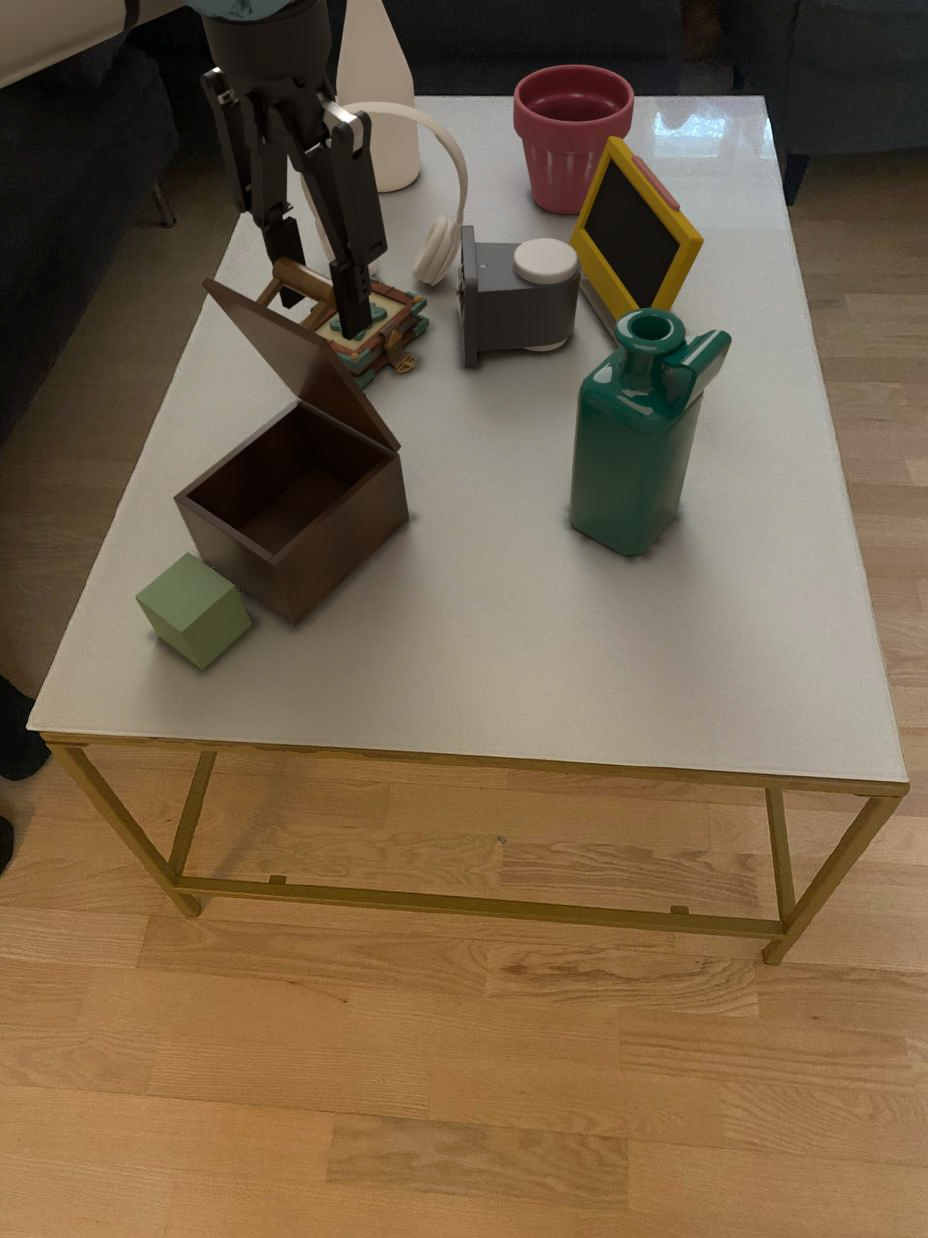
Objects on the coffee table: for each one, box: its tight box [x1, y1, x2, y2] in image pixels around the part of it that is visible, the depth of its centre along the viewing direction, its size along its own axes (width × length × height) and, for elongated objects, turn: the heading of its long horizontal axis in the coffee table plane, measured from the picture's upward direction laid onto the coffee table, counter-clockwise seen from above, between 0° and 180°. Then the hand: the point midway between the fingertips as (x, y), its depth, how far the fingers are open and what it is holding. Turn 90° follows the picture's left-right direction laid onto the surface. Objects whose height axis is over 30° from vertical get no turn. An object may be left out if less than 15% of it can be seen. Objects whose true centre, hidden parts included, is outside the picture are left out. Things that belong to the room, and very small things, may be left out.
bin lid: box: [201, 257, 402, 453], centre depth 74 cm, size 16×13×6 cm
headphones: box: [299, 102, 469, 287], centre depth 100 cm, size 7×18×20 cm, turn 82°
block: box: [134, 551, 253, 671], centre depth 78 cm, size 6×6×6 cm
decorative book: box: [298, 275, 430, 390], centre depth 98 cm, size 13×18×5 cm
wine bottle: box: [335, 0, 421, 193], centre depth 109 cm, size 10×10×30 cm
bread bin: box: [172, 397, 410, 626], centre depth 82 cm, size 16×13×9 cm
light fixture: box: [454, 225, 582, 367], centre depth 97 cm, size 11×13×11 cm
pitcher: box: [568, 307, 733, 556], centre depth 76 cm, size 10×8×22 cm
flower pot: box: [512, 64, 635, 215], centre depth 111 cm, size 14×14×13 cm
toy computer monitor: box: [567, 136, 705, 348], centre depth 96 cm, size 20×8×16 cm, turn 18°
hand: (327, 313), depth 72 cm, fingers closed on bin lid, 6 cm apart
